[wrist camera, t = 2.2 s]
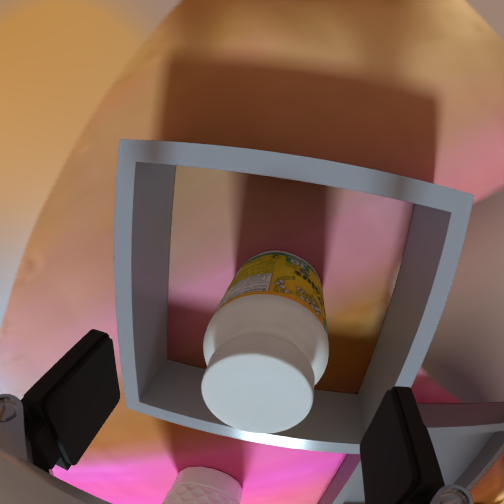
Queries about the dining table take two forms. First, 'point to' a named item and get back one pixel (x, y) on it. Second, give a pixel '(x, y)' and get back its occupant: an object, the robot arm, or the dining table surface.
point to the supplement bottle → (266, 345)
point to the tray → (439, 448)
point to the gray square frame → (157, 269)
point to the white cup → (204, 487)
